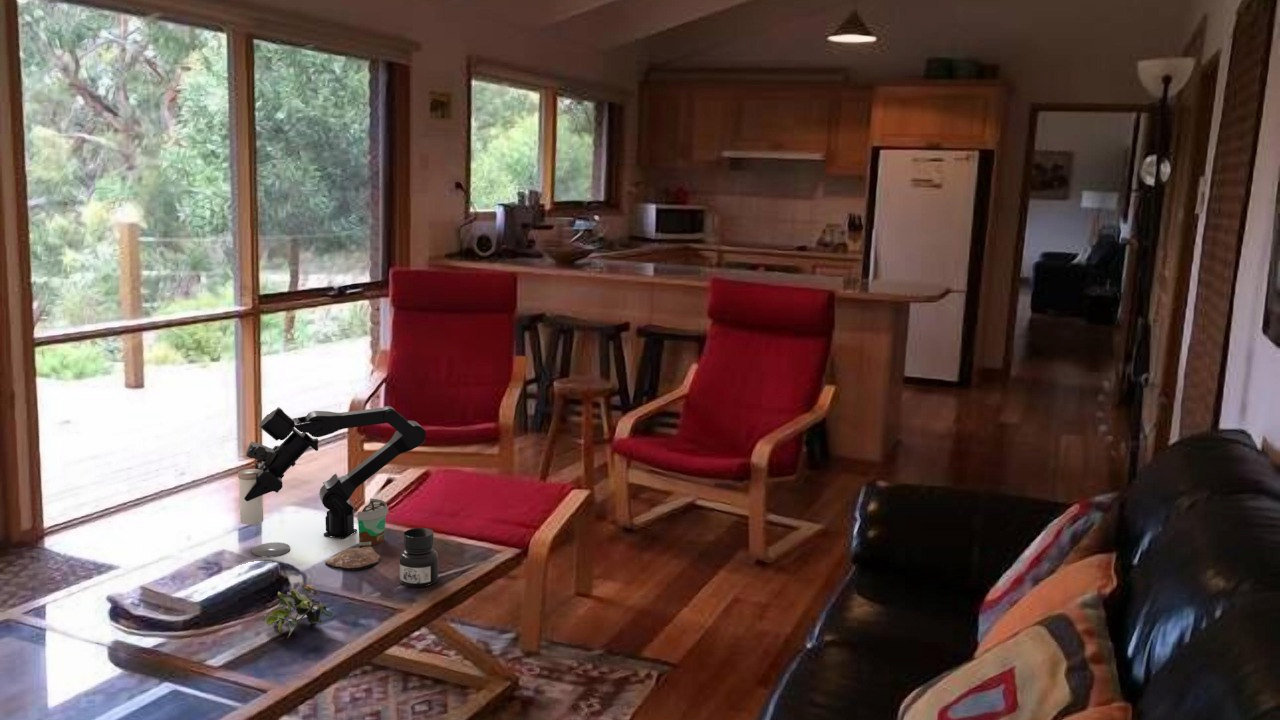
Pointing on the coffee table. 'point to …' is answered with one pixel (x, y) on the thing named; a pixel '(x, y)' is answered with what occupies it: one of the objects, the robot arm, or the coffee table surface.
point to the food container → (372, 523)
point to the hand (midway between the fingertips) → (245, 496)
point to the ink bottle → (418, 558)
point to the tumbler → (254, 508)
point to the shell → (354, 559)
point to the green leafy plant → (298, 608)
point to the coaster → (271, 549)
